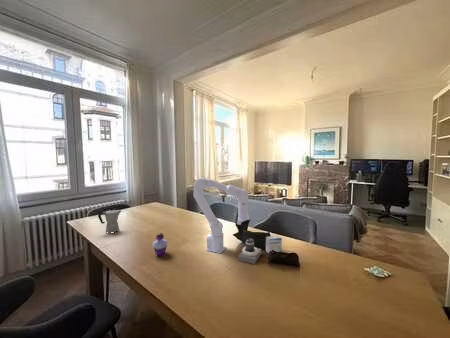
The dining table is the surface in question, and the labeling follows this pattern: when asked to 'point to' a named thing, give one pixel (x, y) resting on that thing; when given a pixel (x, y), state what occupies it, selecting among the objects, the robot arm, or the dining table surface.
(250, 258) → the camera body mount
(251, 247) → the lens
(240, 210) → the robot arm
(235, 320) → the dining table surface
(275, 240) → the medicine box
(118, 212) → the coffeepot
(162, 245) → the potion bottle
